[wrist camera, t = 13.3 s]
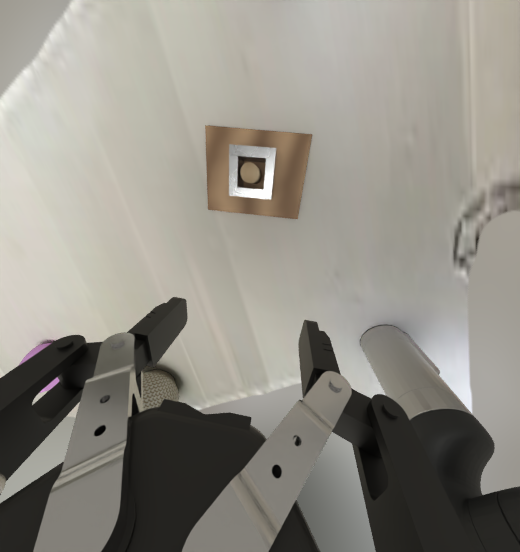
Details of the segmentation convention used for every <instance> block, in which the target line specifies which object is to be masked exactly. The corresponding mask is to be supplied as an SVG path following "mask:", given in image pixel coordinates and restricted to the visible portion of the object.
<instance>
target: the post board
mask: <svg viewBox="0 0 520 552" xmlns="http://www.w3.org/2000/svg"><path fill="white" fill-rule="evenodd" d="M205 129H206V159H207V190H208V210H217V211H226V212H236V213H245V214H254V215H264V216H273V217H282V218H292V219H298V213H299V207H300V201H301V196H302V190H303V184H304V178H305V173H306V167H307V161H308V155H309V149H310V144H311V138H312V134H300V133H288V132H276V131H264V130H252V129H240V128H228V127H216V126H205ZM229 144H232V145H244V146H256V147H269V148H276V151H277V158H276V167H275V177H274V187H273V196H272V199H271V200H270V199H259V198H249V197H238V196H229ZM265 166H266V163H261V162H249V161H244V165H243V166H242V167H241V171H240V174H241V177H242V179H243V180H244V186H243V188H253V189H264V178H265Z"/></svg>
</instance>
